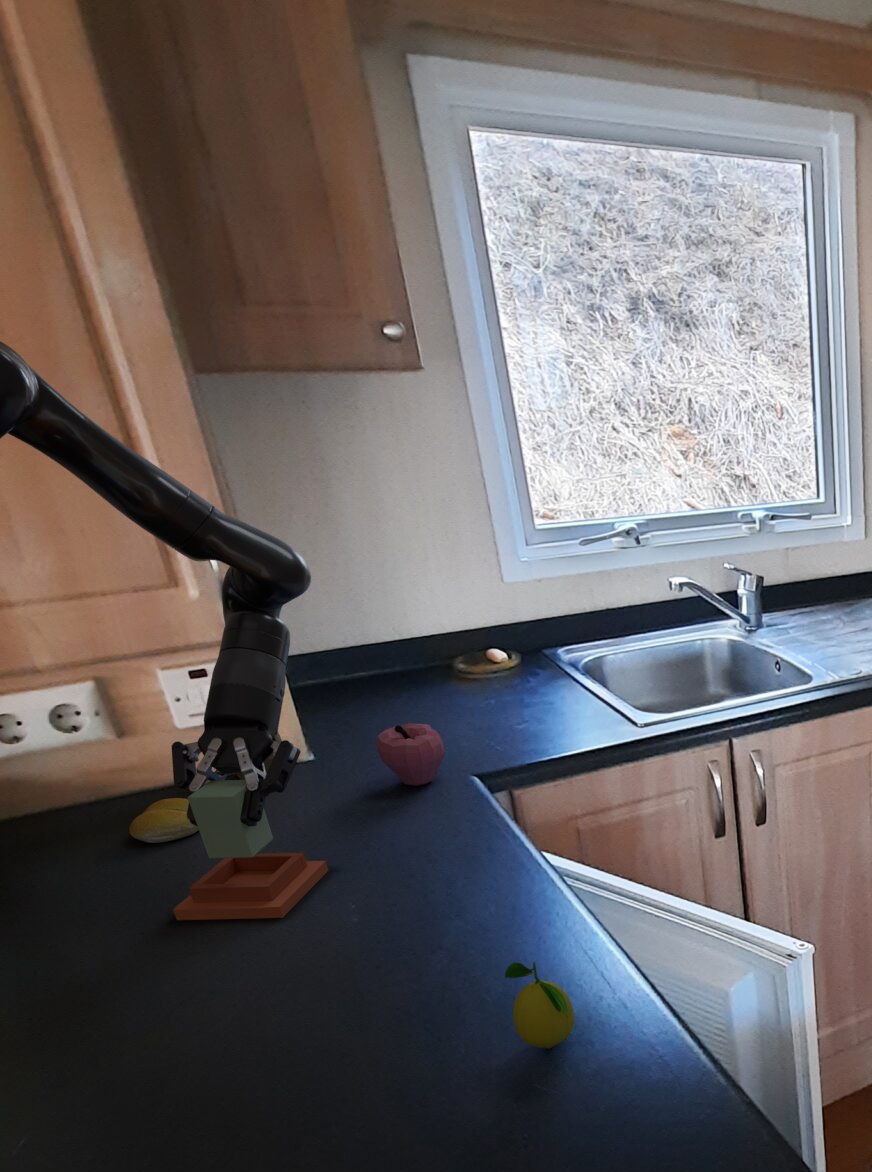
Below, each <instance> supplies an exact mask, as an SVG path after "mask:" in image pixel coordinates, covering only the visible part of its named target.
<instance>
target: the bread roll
mask: <svg viewBox="0 0 872 1172" xmlns="http://www.w3.org/2000/svg"><path fill="white" fill-rule="evenodd" d="M188 804H189V800H188V798H183V797H182V798H181V797H172V798H165V799H161V800H158V801H155V802H153V803H152V804H150V805H149V806H148V807H147V808H145V810H144V811H143V812H142V813H141V814H139V815H138V816H136V817H135V818H134V819H133V820H132V822H131V824H129V825H130V826H129V829H128V830H129V834H130V836H131V837H132V838H133V839H136V840H138V841H140V842H145V843H150V844H160V843H167V842H173V841H176V840H179V839H183V838H186V837H190V836H192V835H193V834H196V833H197V832H198V831H199V829H198V827H197V826H195V825H193V824H191V823H190V820H189V819H188V818H187V810H188Z"/></svg>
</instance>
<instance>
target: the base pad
mask: <svg viewBox="0 0 872 1172" xmlns="http://www.w3.org/2000/svg"><path fill="white" fill-rule="evenodd" d="M327 873H329V868H328V864H327V860H307V859H306V855H305V853H304V852H271V853H270V852H265V853H263V852H262V853H261V852H260V853H259V852H258V853H257V854H256V855H255V856H253V857H243V858H222V860H220V861H219V862H218V863H217V864H215V865H214V866H213V867H212V868H211V869H210V870H208V871H207V872H206V873H205V874H204V875H203V876H201V877H200V878H199V879H198V880H196V881H195V883H193V884H192V885H190V887H188V890H189V893H190V894H189V895H188V896H187V897H186V898H185V899H183V900H182V901H181V902H180V903H179V904H177V905H176V906H175V907H174V908H173V909H172V911H173V914H174V916H175V919H176V921H205V920H206V921H209V920H244V919H246V920H247V919H250V920H251V919H283V918H284V917H285V916H286V915H287V914H288V913H289V912H290V911H291V910H292V909H293V908H294V907H295V906H296V905H297V904H298V903H299V902H300V901H301V900H302V899H303V898H304V896H306V895H307V894H308V893H309V892H310V891H311V889H313V887H314V886H316V884H317V883H318V882H319V881H320V880H321V879H322V878H323V877H324V876H325V875H326V874H327Z"/></svg>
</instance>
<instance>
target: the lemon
mask: <svg viewBox="0 0 872 1172" xmlns="http://www.w3.org/2000/svg"><path fill="white" fill-rule="evenodd" d="M532 975H534V979H535V981H533V982H530V983H528V984H527V985H525V986H524V987H522V989H521V990H520V991H519V992H518V994H517V996H516V999H515V1001H514V1004H513V1008H512V1018H513V1023H514V1028H515V1030H516V1033H517V1035H518V1036H519V1037H520V1038H521V1039H522V1041H523V1042H524V1043H526V1044H527V1045H529V1046H531V1047H533V1048H538V1049H539V1048H540V1049H542V1048H543V1049H544V1048H546V1049H552V1048H554V1046H556V1045H558V1044H561V1043H563V1042H564V1041H565V1040H567V1038H568V1037H569V1035H570V1034H571V1033H572V1031H573V1028H574V1023H575V1011H574V1007H573V1004H572V1002H571V999H570V997H569V995H568V994H567V992H566V991H565V990H564V989H563V988H562V987H561V986H559V985H558V984H557V983H555V982H552V981H548V980H540V978H539V977H538V973H537V966H536V961H535V960H534V961H533V962H532V968H529V967H527V966H526V965H524V964H523V963H520V962H513V963H511V964H510V965H509V966H508V967H507V968H506V970H505V973H504V978H507V979H519V978H525V977H528V976H532Z"/></svg>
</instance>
